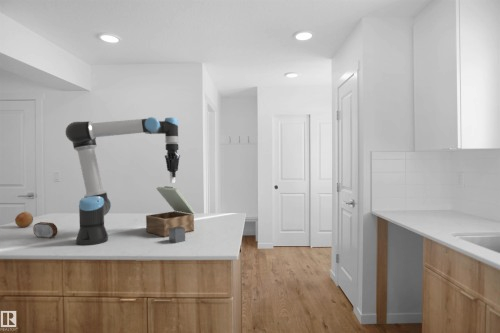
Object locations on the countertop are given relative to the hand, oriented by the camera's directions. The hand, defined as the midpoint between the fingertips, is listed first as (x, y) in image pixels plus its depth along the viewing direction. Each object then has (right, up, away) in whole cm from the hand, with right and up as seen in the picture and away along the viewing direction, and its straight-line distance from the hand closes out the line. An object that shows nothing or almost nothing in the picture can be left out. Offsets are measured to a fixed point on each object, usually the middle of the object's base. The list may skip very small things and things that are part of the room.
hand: (172, 182), depth 187 cm
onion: (-103, -30, +18) cm, 108 cm away
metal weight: (+8, -30, -23) cm, 39 cm away
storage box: (-1, -29, -1) cm, 29 cm away
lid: (+1, -11, +1) cm, 11 cm away
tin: (-70, -31, -12) cm, 77 cm away
